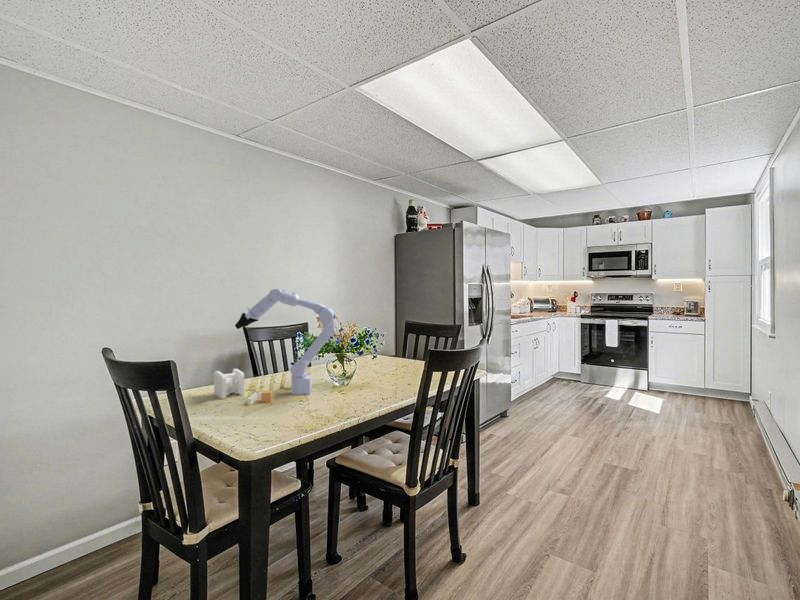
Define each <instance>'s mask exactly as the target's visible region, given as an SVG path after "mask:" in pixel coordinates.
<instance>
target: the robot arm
mask: <svg viewBox="0 0 800 600" xmlns="http://www.w3.org/2000/svg"><path fill="white" fill-rule="evenodd" d="M278 302H280V303H281V304H284V305H288V306H291V307H296V306H300V307H304V308H305V309H309V310H313V312H314V313H315V314H316V315H318V318H319V320H320V322H321V324H322V331H321V332H320V334H319V335H318V336H317V337H316V338H315V340H314V341H313V343H311V345H310V346H309V347H308V349H307V350H306V351H305V353H304V354H303V356H301V358H300V359H298V360H297V361H296V362H295V363H293V365H291V367H290V373H291V382H290V383H291V392H290V393H291V394H292V395H300V396H301V395H312V392H313V377H312V375H308V373H307V372H306V371H308V367H309V365H310V363H311V362H312V360H313V359H314V358H315V357H316V356H317V355H318V353H319V352H320V350H321V349H322V348H323V347H324V346H325V344H326V343H327V342H328V341H329V339H330V338H331V336H332V335H333V334H334V332H335V329H336V326H335V325H336V313H335V310H334V309H333V308H331V307H327V305H325V304H322V303H318V302H315V301H310V300H307V299H304V298H300V297H299V295H298V294H297V293H296V292H294V291H293V292H289V291H286V290H285V289H281V288H272V289H271V290H270V291H269V293H268V294H266V296H263V297H262V298H261V299H260V300H259V301H258V302H257V303H255V305H253V306H252V307H249V306H248V307H247V308H246V309H247V310H248V311H247V313H246V312H243V313H241V315H240V318H239V319H238V321H237V322H236V323H235V325H234V326H235V328H236V329H237V330H239V329H241V328H245V327H247V326H250V325H251V324H253V323H255V322H258V321H259V319H260V318H261V317H263V316H264V315H265V313H267V312H268V311H269V310H270V309H271V308H273V307H274V305H276V304H277V303H278Z"/></svg>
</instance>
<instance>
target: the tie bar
mask: <svg viewBox="0 0 800 600" xmlns="http://www.w3.org/2000/svg"><path fill="white" fill-rule="evenodd" d="M260 398H261V391H254V392H253V393H252V394H251V395H250V396H249V397H248V398H247V399H246V401H247V403H246V404H247V406H250V405H253V404H254V403H255V402H256V401H257V400H258V399H260Z"/></svg>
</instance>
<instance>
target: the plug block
mask: <svg viewBox="0 0 800 600" xmlns="http://www.w3.org/2000/svg"><path fill="white" fill-rule="evenodd" d="M260 398H261V403H271V402H273V400H274V390H264V391H262V392H260Z"/></svg>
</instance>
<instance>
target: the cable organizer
mask: <svg viewBox="0 0 800 600" xmlns="http://www.w3.org/2000/svg"><path fill="white" fill-rule="evenodd" d="M213 378H214V379H213V382H214V383H213V384H214V386H213V388H214V389H213V390H214V394H215V396H218V397H219V398H220V399H221V400H223V399H224V400H225V399H227V396H228V397H229V395H230V394H234V395H239V396H244V395H245V373H244V372H243V371H241V370H240V369H238V368H233V369H232V372H231V373H223V372H221V371H219V370H216V371H214V372H213Z"/></svg>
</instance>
